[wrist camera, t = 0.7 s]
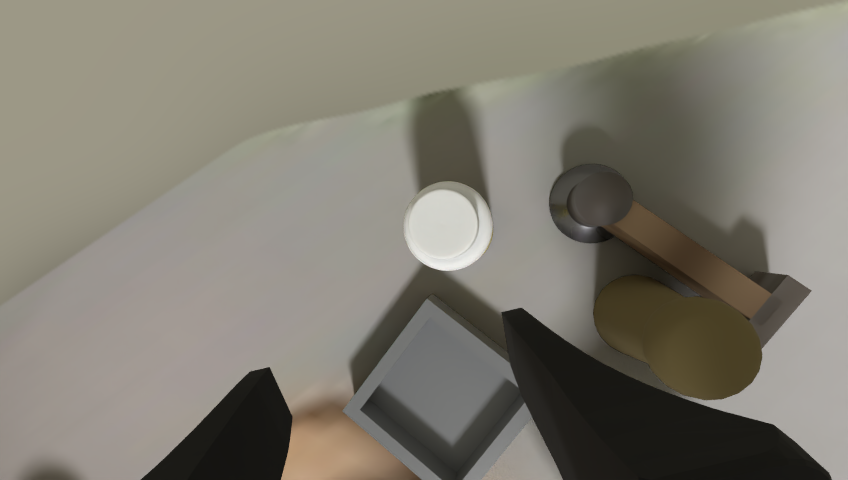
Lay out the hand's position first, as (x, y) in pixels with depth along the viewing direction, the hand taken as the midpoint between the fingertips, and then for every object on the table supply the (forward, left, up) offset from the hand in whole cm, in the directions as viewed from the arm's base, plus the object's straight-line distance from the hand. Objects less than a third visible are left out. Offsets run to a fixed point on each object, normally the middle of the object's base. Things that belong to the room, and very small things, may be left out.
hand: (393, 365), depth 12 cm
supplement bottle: (+3, -4, -21) cm, 21 cm away
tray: (-4, +7, -20) cm, 22 cm away
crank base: (-4, -12, -20) cm, 24 cm away
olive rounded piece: (-12, -7, -21) cm, 25 cm away
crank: (-10, -12, -20) cm, 25 cm away
